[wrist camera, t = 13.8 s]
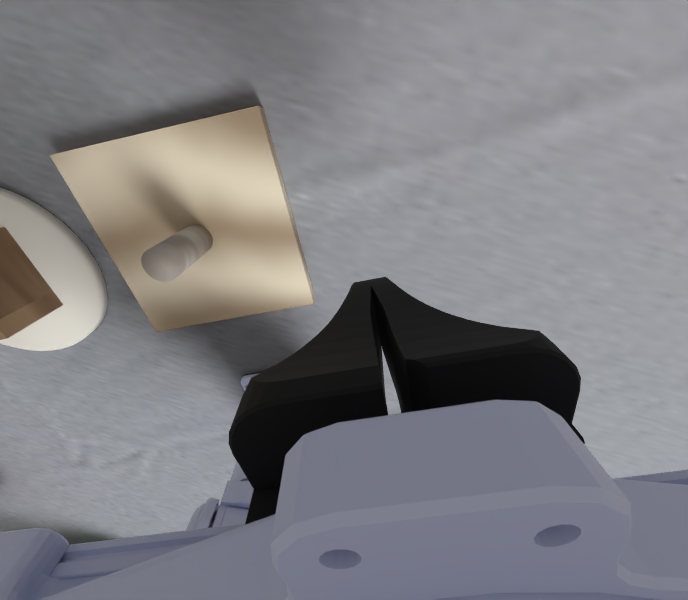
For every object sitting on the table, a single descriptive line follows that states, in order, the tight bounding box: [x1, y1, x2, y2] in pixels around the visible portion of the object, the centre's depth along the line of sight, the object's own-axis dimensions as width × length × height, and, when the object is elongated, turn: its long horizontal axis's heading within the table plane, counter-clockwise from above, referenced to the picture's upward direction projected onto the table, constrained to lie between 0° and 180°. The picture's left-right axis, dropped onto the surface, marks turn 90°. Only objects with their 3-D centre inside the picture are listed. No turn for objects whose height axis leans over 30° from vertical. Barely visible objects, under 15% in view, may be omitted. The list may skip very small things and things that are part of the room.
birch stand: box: [50, 106, 315, 332], centre depth 17 cm, size 12×12×6 cm
